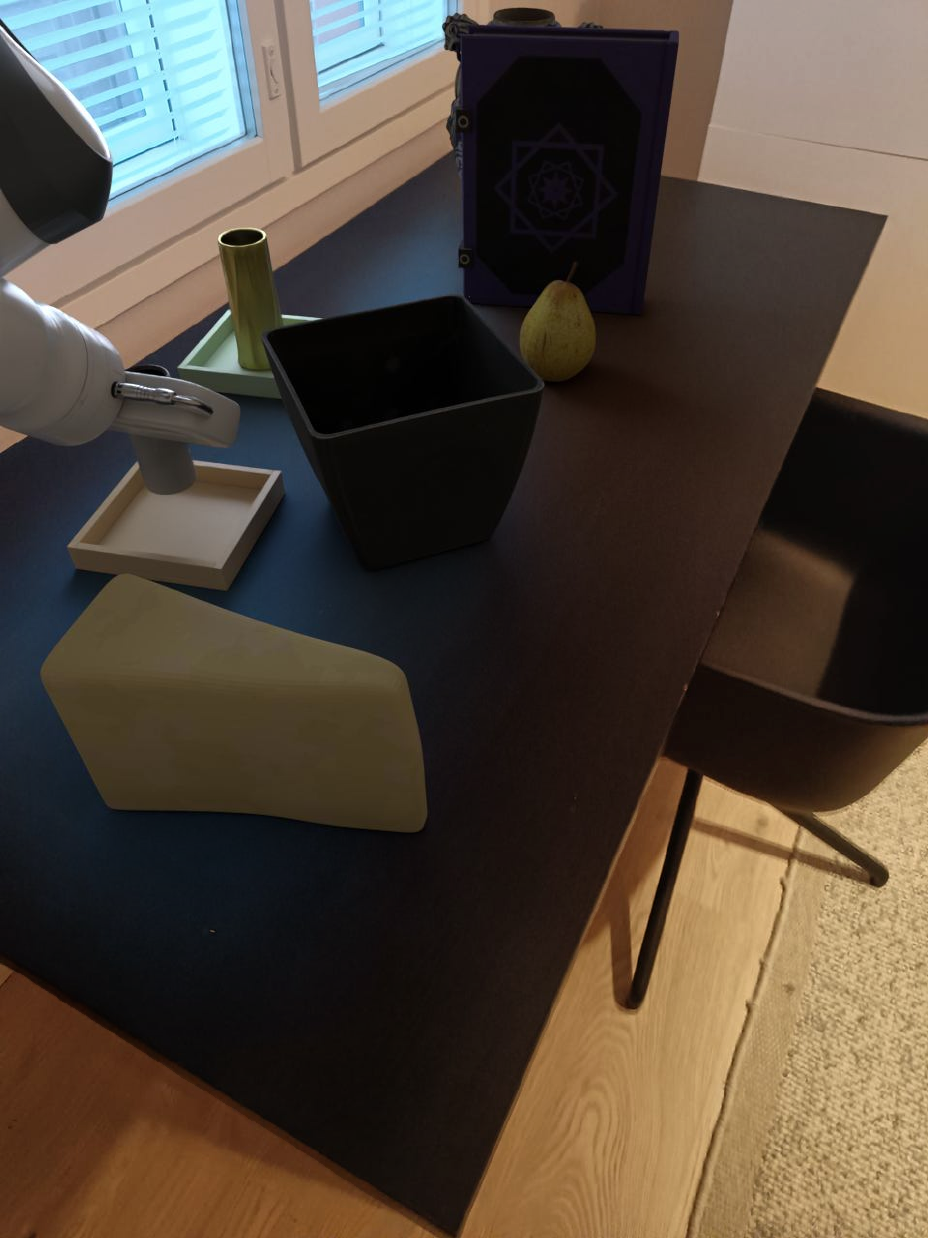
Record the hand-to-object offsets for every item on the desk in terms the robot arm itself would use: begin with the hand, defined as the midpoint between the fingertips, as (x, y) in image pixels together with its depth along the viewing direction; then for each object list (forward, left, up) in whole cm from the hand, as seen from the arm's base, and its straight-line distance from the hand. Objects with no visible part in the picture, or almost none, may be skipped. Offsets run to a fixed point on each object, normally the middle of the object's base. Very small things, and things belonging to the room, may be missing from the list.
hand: (159, 425), depth 77 cm
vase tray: (-4, +30, -11) cm, 32 cm away
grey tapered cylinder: (0, -1, -6) cm, 6 cm away
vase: (-4, +30, -11) cm, 32 cm away
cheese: (+19, -27, -11) cm, 35 cm away
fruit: (+30, +35, -11) cm, 48 cm away
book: (+27, +53, -11) cm, 61 cm away
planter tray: (0, -1, -11) cm, 11 cm away
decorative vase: (+19, +72, -11) cm, 76 cm away
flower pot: (+20, +5, -11) cm, 24 cm away
